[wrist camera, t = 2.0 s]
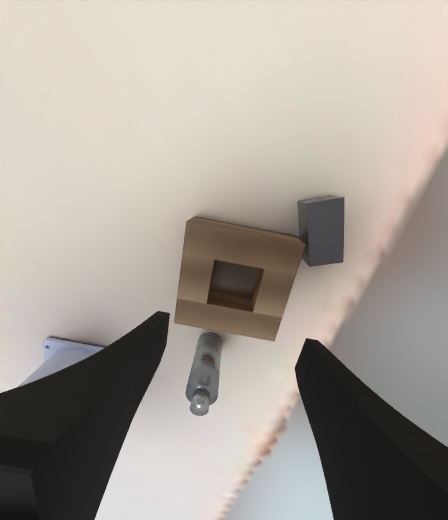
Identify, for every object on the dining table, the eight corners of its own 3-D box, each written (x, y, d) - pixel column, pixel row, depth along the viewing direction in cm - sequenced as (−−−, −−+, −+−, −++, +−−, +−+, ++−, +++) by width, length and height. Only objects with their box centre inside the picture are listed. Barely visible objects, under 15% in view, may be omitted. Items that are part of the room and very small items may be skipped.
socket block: (269, 321, 21) (274, 341, 18) (182, 305, 21) (174, 323, 18) (294, 235, 18) (305, 244, 16) (193, 216, 18) (186, 221, 15)
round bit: (219, 354, 23) (213, 423, 16) (196, 350, 23) (180, 417, 16) (223, 335, 22) (219, 399, 15) (199, 330, 22) (184, 393, 15)
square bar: (329, 252, 19) (343, 262, 16) (300, 256, 19) (309, 266, 17) (329, 195, 17) (344, 197, 15) (297, 201, 18) (307, 203, 15)
